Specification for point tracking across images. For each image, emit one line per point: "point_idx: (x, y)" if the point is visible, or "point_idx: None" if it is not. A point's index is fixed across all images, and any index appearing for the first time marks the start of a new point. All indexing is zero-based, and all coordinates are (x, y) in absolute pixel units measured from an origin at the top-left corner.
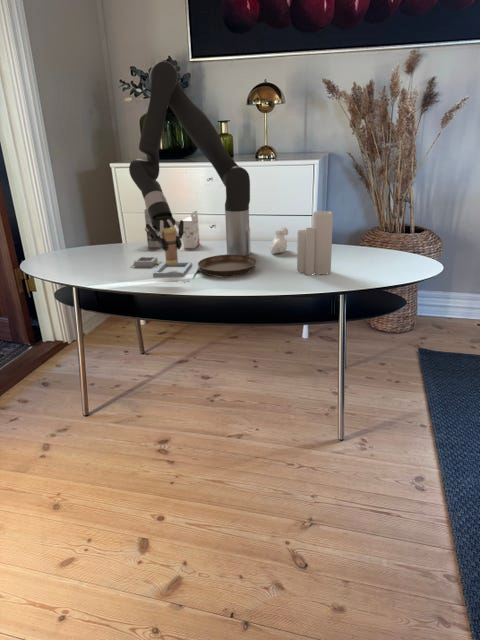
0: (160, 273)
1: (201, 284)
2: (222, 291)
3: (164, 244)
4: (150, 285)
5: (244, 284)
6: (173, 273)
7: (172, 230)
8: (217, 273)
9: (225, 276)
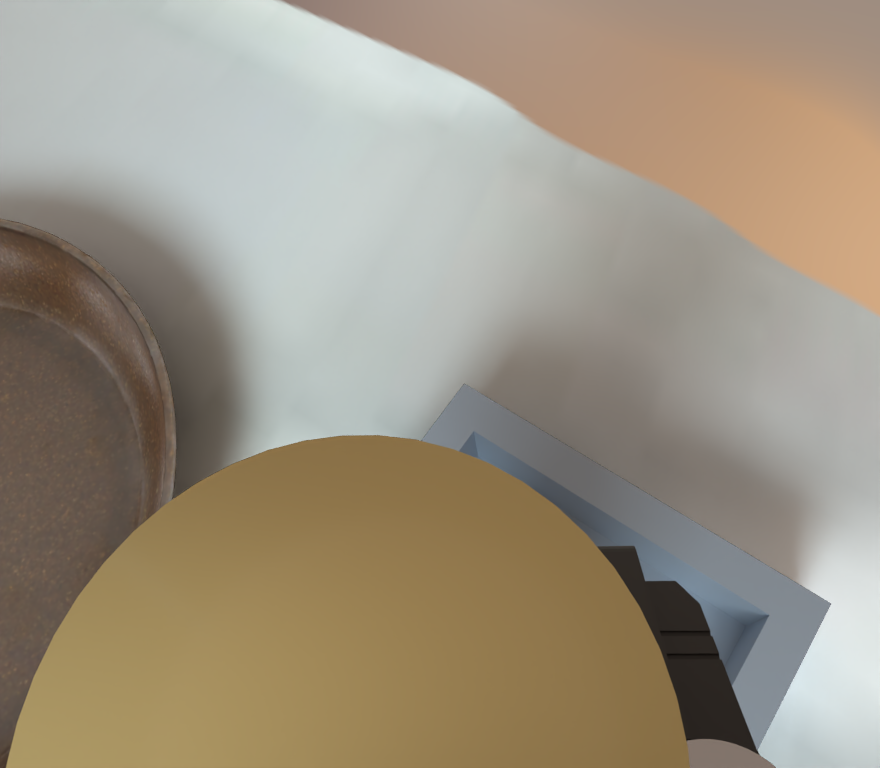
0: (723, 540)
1: (374, 235)
2: (328, 32)
3: (650, 621)
4: (858, 453)
5: (107, 93)
6: (565, 446)
7: (325, 464)
8: (124, 316)
9: (72, 326)
